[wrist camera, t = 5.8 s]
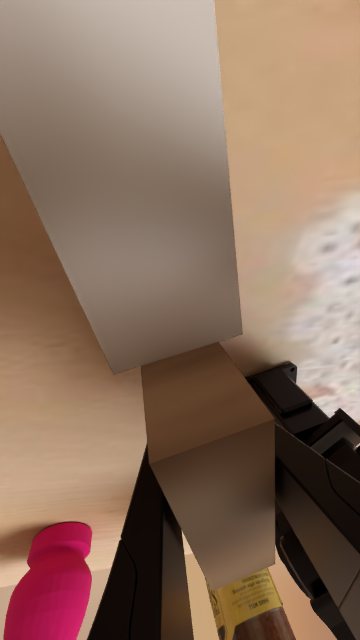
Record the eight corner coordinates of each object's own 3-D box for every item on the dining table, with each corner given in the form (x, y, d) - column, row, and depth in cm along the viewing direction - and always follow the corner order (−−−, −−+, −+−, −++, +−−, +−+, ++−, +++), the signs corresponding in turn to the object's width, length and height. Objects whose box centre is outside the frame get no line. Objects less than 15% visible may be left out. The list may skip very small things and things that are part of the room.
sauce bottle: (177, 491, 26) (279, 1030, 9) (221, 466, 26) (413, 965, 9) (199, 508, 29) (306, 933, 12) (239, 486, 29) (405, 884, 12)
